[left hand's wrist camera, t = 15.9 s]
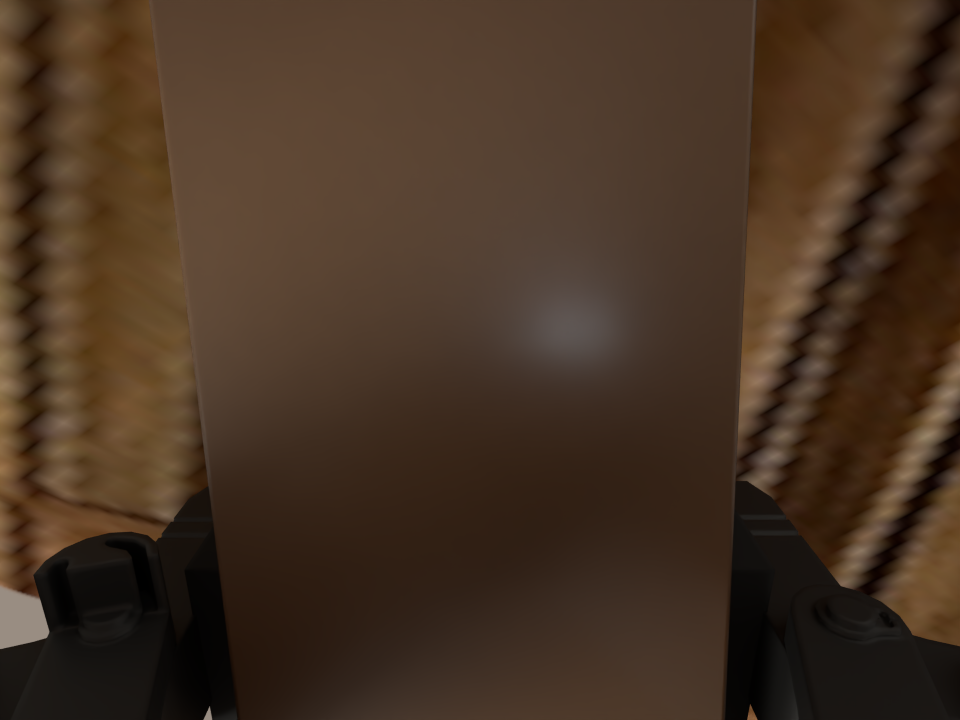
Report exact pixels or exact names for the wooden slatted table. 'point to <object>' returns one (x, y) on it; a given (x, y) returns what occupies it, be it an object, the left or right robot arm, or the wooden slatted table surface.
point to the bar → (466, 346)
